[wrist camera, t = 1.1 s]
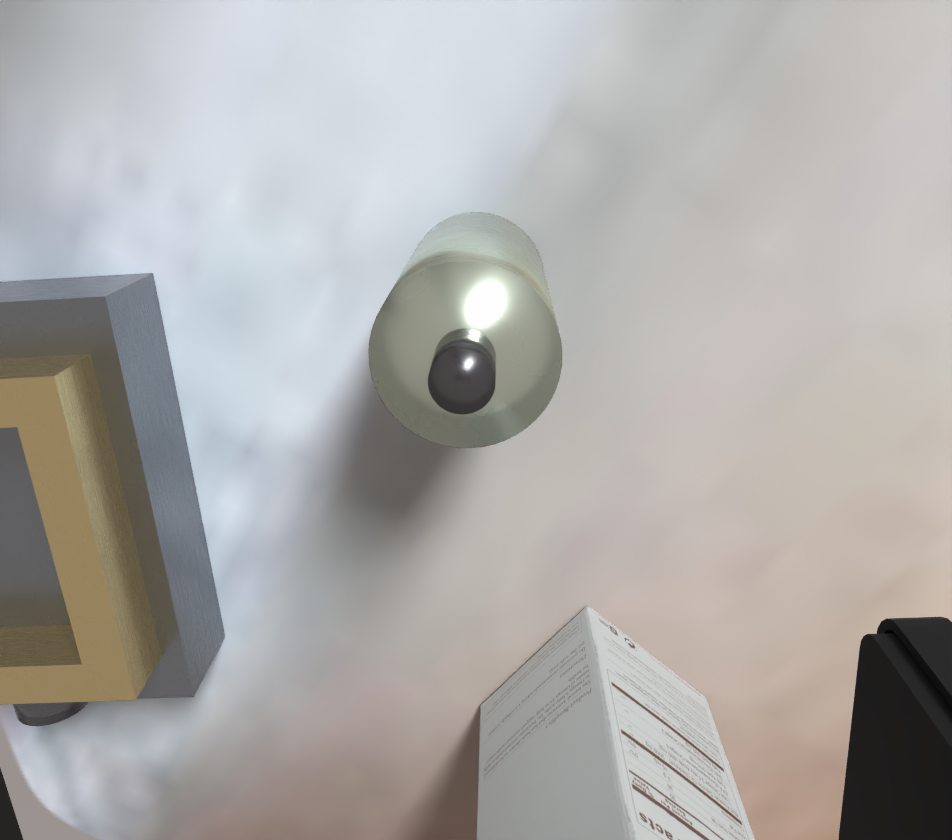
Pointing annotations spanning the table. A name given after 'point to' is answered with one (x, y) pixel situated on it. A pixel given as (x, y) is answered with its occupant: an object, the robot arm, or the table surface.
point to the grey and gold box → (96, 504)
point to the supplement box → (602, 748)
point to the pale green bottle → (468, 335)
